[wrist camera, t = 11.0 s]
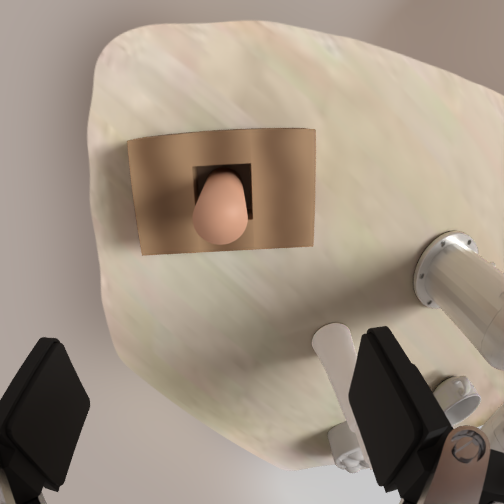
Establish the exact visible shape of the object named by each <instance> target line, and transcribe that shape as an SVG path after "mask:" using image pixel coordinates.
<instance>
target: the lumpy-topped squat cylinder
mask: <svg viewBox="0 0 504 504" xmlns="http://www.w3.org/2000/svg"><path fill="white" fill-rule="evenodd" d="M328 440H329V443H330V447H331V451H332V455H333V458H334V462H335V465H336V466H338V467H339V468H341V469H346V470H347V471H348V472H350V473H356V472H358V471H360V469H367V468H370V467H369V465H370V464H368V463H366V462H365V460H364V457H363V454H362V451H361V448H360V446H359V443H358V440H357V437H356V434H355V432H352V431H351V430H350V428H349V426H348V423H347V421H345V422H343V423H340V424H338V425H336V426H334V427H333V428H332V429H330V431H329V432H328Z"/></svg>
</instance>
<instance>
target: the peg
mask: <svg viewBox="0 0 504 504" xmlns="http://www.w3.org/2000/svg"><path fill="white" fill-rule="evenodd" d="M192 219H193V225H194V228H195V230H196V232H197V233H198V235H199V236H200V237H201V238H202V239H204V240H205V241H207V242H209V243H212V244H217V245H223V244H229V243H231V242H233V241H235V240H237V239H238V238H239V237H240V236H241V235H242V234H243V232H244V231H245V229H246V226H247V222H248V215H247V209H246V202H245V196H244V190H243V184H242V180H241V177H240V176H239V174H238V173H237V172H236V171H234V170H233V169H230V168H225V167H223V168H218V169H216V170H214V171H212V172H211V173H210V174H209V176H208V177H207V180H206V182H205V184H204V187H203V189H202V191H201V194H200V196H199V199H198V201H197V203H196V206H195V208H194V211H193V217H192Z"/></svg>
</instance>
